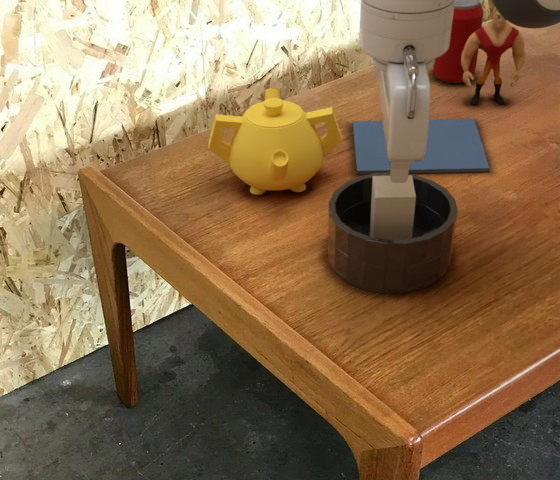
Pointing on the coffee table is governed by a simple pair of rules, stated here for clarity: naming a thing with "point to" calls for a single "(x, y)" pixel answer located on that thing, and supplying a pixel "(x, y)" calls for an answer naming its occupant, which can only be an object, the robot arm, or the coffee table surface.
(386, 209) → the item
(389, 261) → the pot
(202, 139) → the coffee table surface
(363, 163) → the blue rectangular board
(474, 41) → the action figure
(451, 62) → the beverage can
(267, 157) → the teapot
